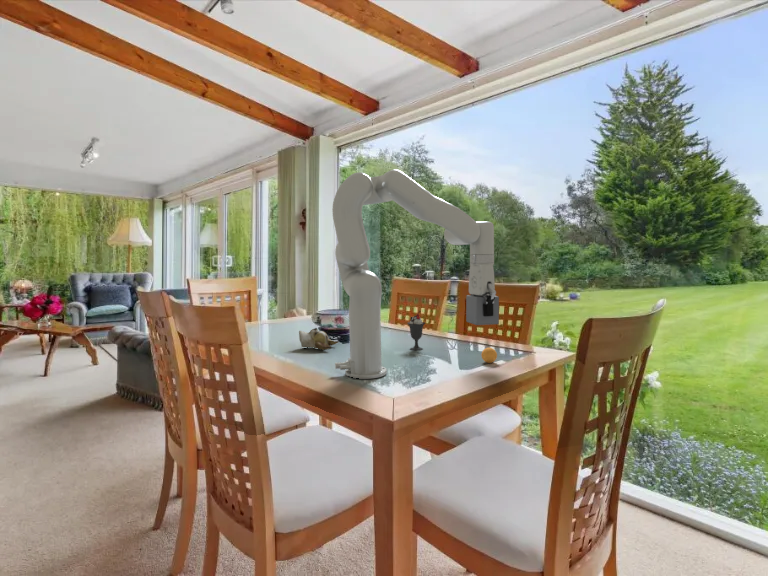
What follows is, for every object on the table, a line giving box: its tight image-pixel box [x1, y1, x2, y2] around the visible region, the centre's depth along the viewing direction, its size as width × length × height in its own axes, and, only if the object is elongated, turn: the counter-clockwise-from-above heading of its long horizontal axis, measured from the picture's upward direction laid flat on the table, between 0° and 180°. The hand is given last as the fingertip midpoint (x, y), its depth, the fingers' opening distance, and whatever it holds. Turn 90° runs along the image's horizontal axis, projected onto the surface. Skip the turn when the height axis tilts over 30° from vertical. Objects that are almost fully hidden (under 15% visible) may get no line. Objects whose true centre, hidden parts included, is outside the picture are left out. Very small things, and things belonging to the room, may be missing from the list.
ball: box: [480, 347, 498, 364], centre depth 143 cm, size 5×5×5 cm
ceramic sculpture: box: [298, 327, 340, 351], centre depth 169 cm, size 11×9×15 cm
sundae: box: [407, 310, 426, 351], centre depth 165 cm, size 7×7×15 cm
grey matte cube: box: [465, 294, 500, 326], centre depth 141 cm, size 8×8×9 cm
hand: (482, 314), depth 141 cm, fingers closed on grey matte cube, 7 cm apart
